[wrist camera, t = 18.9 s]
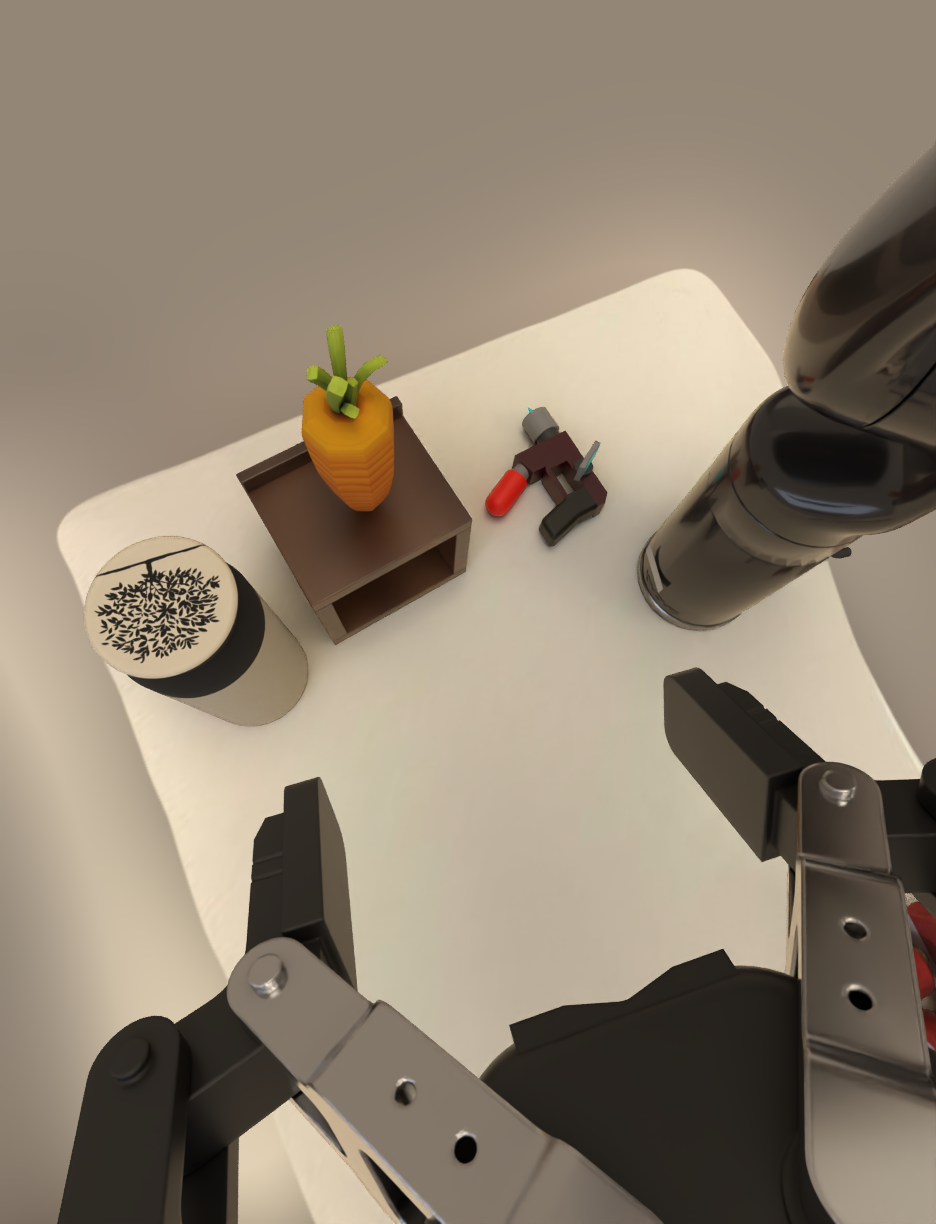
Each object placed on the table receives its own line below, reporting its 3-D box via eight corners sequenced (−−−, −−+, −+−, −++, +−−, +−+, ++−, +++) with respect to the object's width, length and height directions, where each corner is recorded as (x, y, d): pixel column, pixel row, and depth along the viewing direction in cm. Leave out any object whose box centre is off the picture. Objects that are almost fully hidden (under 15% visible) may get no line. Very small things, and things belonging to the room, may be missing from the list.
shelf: (404, 477, 55) (396, 395, 44) (466, 571, 52) (473, 510, 42) (277, 543, 52) (235, 473, 42) (335, 645, 50) (307, 600, 39)
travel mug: (315, 715, 49) (248, 665, 31) (207, 736, 48) (79, 696, 31) (301, 616, 51) (233, 518, 34) (199, 634, 50) (74, 544, 33)
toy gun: (541, 407, 57) (551, 372, 53) (615, 515, 55) (632, 488, 50) (447, 453, 56) (448, 420, 51) (518, 566, 53) (526, 543, 48)
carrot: (348, 463, 44) (305, 296, 29) (416, 488, 43) (406, 331, 29) (317, 525, 42) (256, 380, 28) (387, 551, 42) (362, 419, 28)
